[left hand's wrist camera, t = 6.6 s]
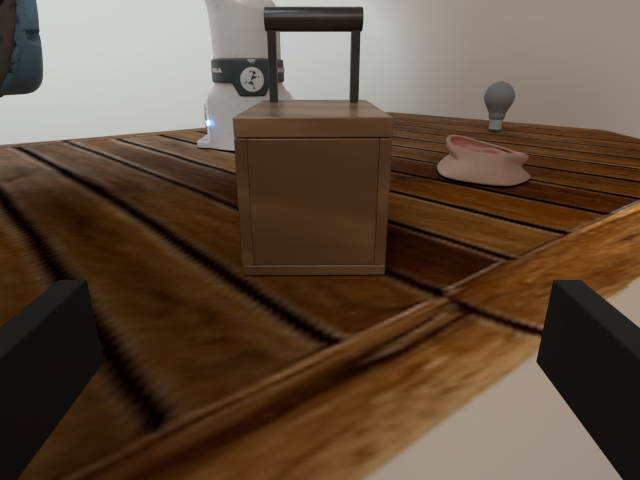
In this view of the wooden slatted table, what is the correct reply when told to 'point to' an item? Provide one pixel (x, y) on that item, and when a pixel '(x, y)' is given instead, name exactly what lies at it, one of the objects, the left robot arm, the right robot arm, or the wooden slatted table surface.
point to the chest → (313, 205)
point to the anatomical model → (482, 163)
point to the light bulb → (498, 103)
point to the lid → (313, 114)
